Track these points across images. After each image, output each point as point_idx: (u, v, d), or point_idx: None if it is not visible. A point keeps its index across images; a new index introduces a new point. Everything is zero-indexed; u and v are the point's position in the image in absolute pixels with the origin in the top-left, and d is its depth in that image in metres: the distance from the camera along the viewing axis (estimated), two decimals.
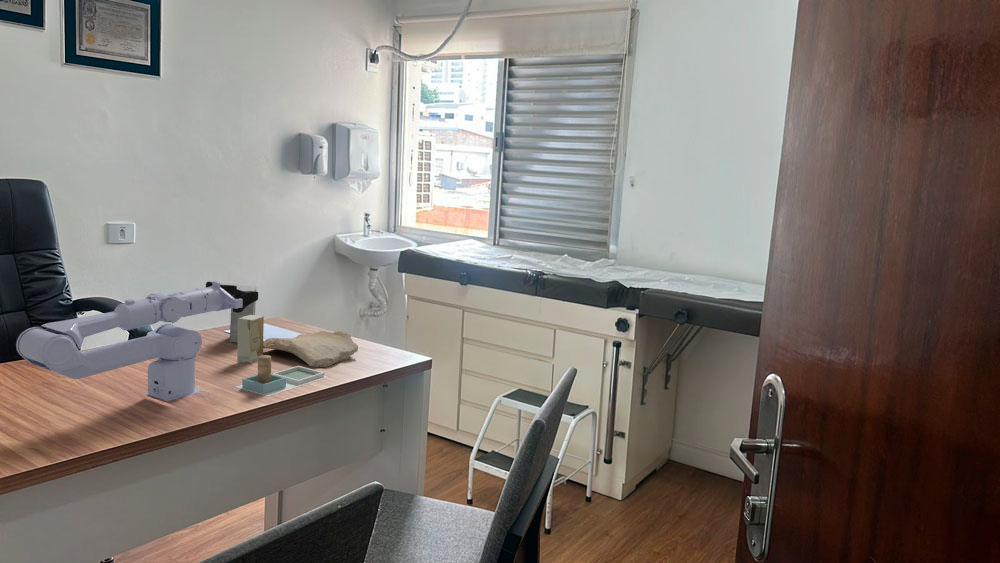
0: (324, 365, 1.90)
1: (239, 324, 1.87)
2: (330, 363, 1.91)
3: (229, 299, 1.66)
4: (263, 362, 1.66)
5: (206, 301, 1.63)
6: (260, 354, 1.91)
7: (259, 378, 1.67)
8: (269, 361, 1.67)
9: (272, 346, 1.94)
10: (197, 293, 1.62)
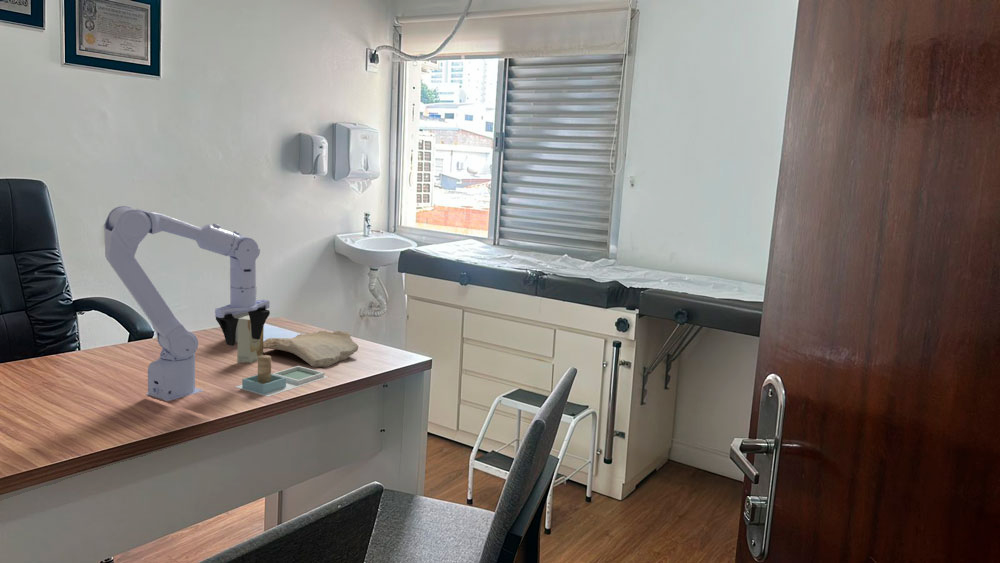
0: (325, 365, 1.90)
1: (239, 324, 1.87)
2: (331, 363, 1.92)
3: (229, 308, 1.65)
4: (263, 362, 1.66)
5: (235, 287, 1.66)
6: (260, 354, 1.91)
7: (259, 378, 1.67)
8: (270, 361, 1.67)
9: (272, 346, 1.94)
10: (255, 280, 1.69)
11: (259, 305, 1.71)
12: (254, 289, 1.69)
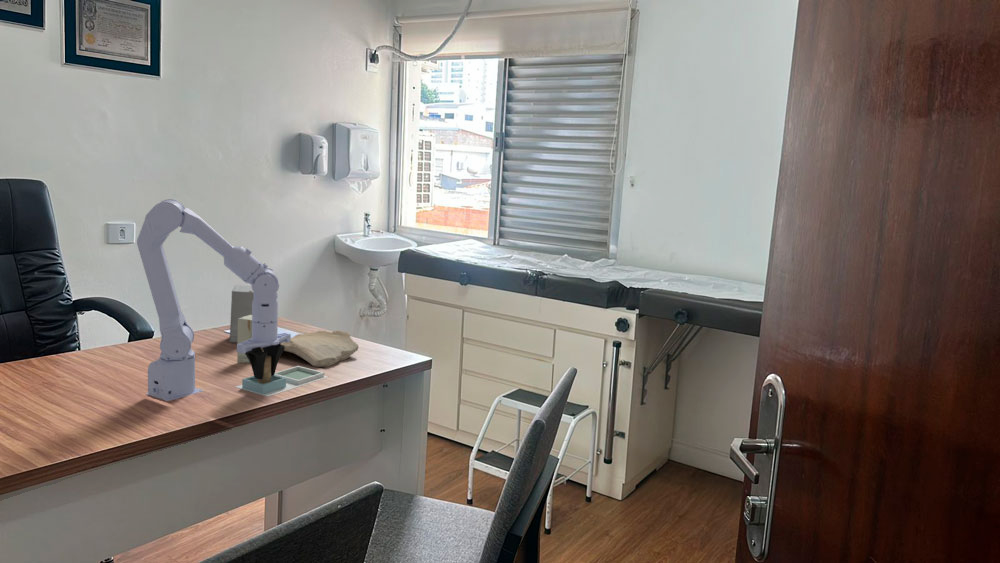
0: (326, 365, 1.90)
1: (239, 324, 1.87)
2: (332, 362, 1.92)
3: (250, 344, 1.63)
4: None
5: (257, 322, 1.64)
6: None
7: None
8: (269, 361, 1.67)
9: None
10: (275, 315, 1.65)
11: (280, 339, 1.69)
12: (276, 323, 1.66)
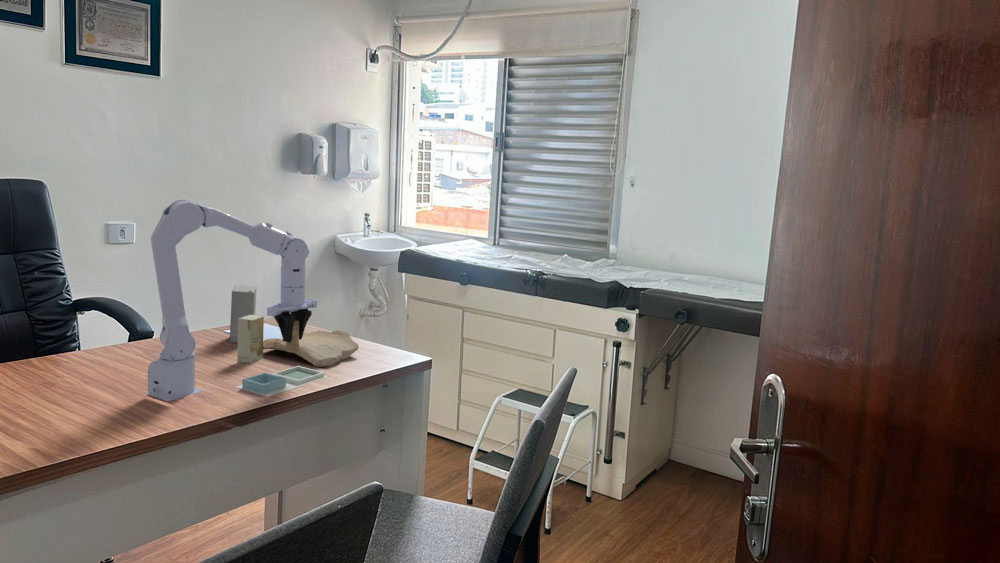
0: (328, 364, 1.91)
1: (239, 324, 1.87)
2: (333, 362, 1.92)
3: (280, 307, 1.69)
4: None
5: (286, 287, 1.70)
6: (260, 354, 1.91)
7: None
8: (298, 325, 1.74)
9: (273, 347, 1.94)
10: (304, 280, 1.72)
11: (308, 304, 1.75)
12: (304, 288, 1.72)
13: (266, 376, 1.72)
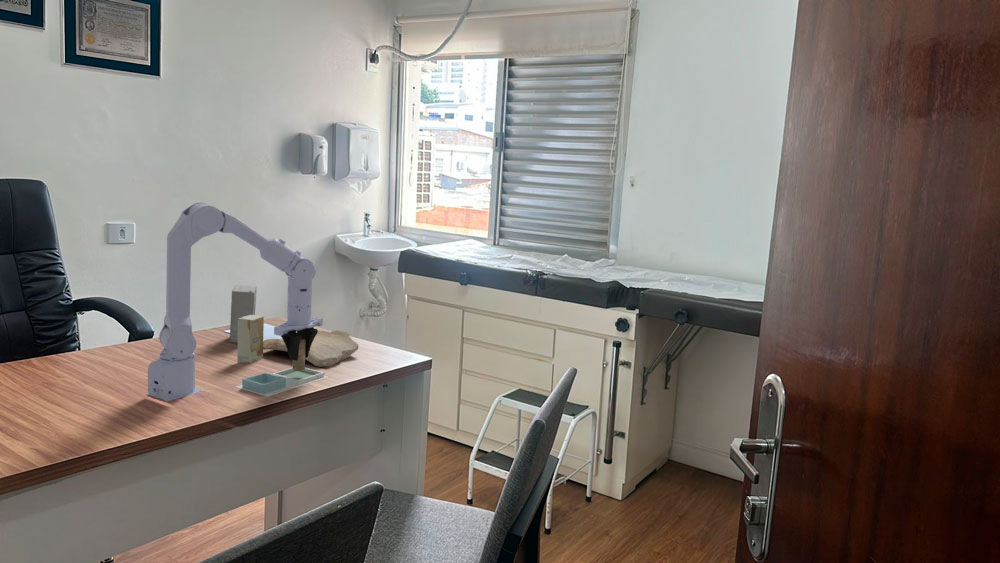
0: (328, 364, 1.91)
1: (239, 324, 1.87)
2: (334, 362, 1.92)
3: (287, 326, 1.72)
4: None
5: (292, 306, 1.73)
6: (260, 354, 1.91)
7: None
8: (304, 343, 1.77)
9: (273, 347, 1.93)
10: (311, 299, 1.75)
11: (314, 323, 1.78)
12: (310, 308, 1.75)
13: (266, 376, 1.72)
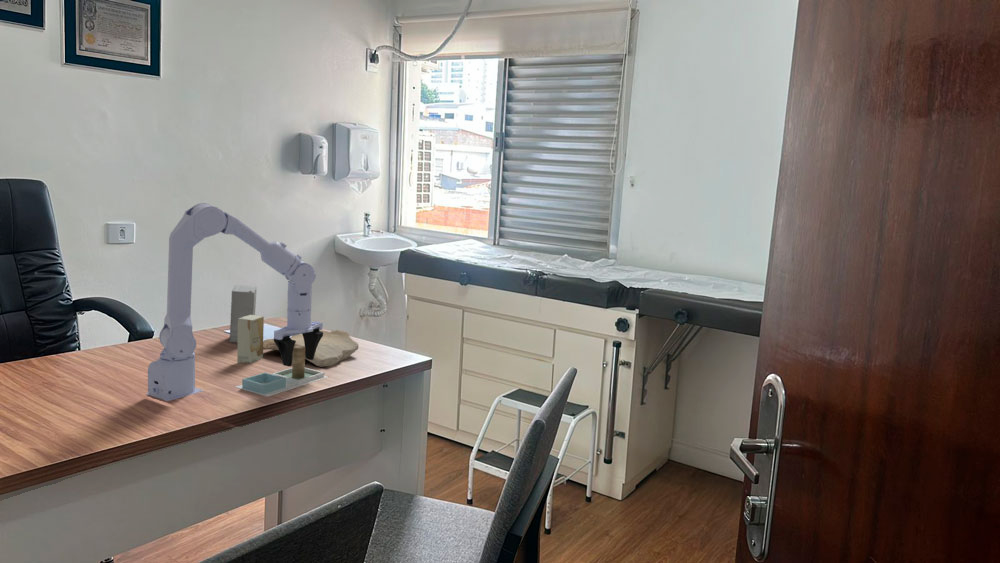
0: (329, 364, 1.91)
1: (239, 324, 1.87)
2: (334, 362, 1.92)
3: (286, 331, 1.72)
4: (298, 352, 1.76)
5: (292, 310, 1.73)
6: (260, 354, 1.91)
7: (294, 367, 1.77)
8: (304, 351, 1.77)
9: (273, 347, 1.93)
10: (310, 303, 1.75)
11: (314, 327, 1.78)
12: (310, 312, 1.75)
13: (266, 376, 1.72)
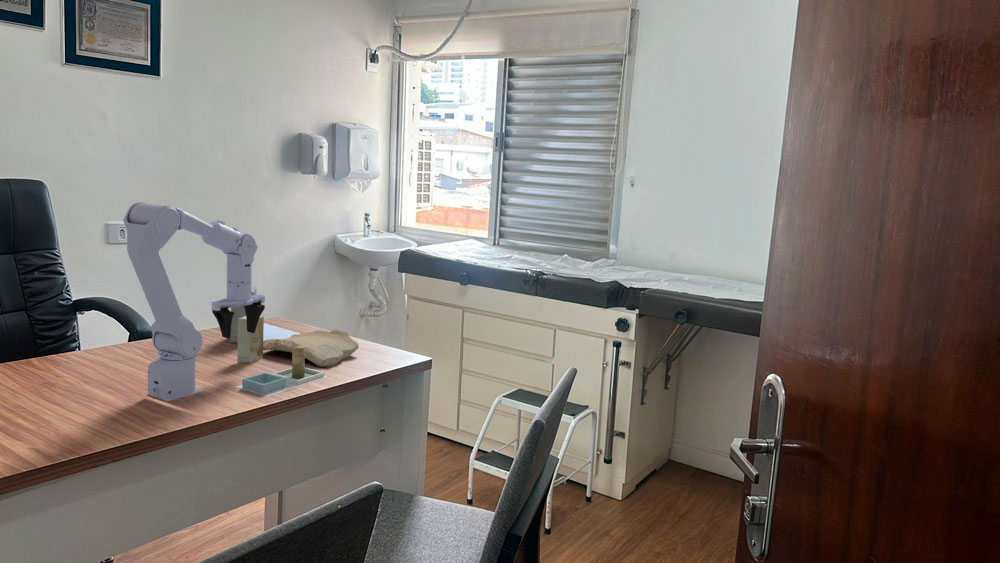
0: (330, 364, 1.91)
1: (239, 324, 1.87)
2: (335, 362, 1.93)
3: (225, 302, 1.72)
4: (297, 352, 1.76)
5: (231, 282, 1.73)
6: (260, 354, 1.91)
7: (294, 367, 1.77)
8: (303, 351, 1.77)
9: (274, 347, 1.93)
10: None
11: (254, 299, 1.78)
12: (250, 284, 1.75)
13: (266, 376, 1.72)
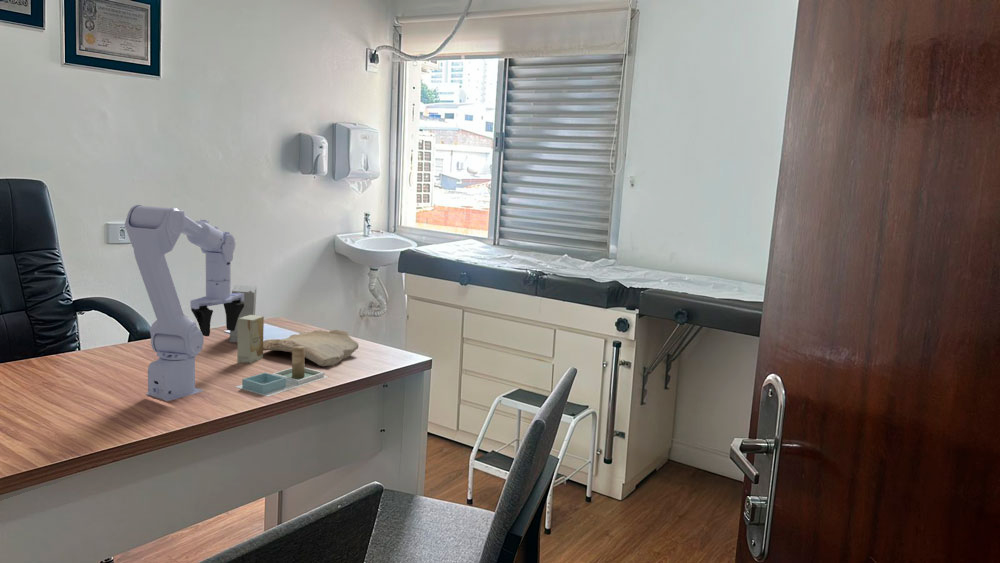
0: (331, 364, 1.91)
1: (239, 324, 1.87)
2: (336, 361, 1.93)
3: None
4: (297, 352, 1.76)
5: (210, 280, 1.73)
6: (260, 354, 1.91)
7: (294, 367, 1.77)
8: (303, 351, 1.77)
9: (274, 347, 1.93)
10: None
11: (234, 298, 1.78)
12: (229, 282, 1.75)
13: (266, 376, 1.72)
